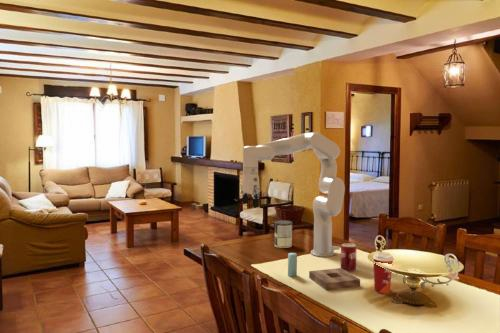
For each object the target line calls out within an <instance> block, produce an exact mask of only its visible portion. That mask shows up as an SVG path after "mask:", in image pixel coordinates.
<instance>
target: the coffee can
mask: <svg viewBox="0 0 500 333" xmlns="http://www.w3.org/2000/svg"><path fill="white" fill-rule="evenodd" d="M292 246H293V221H291V220H287V219H286V220H283V219H282V220H281V219H280V220H275V221H274V247H276V248H278V249H279V248H280V249H285V248H286V249H287V248H292Z"/></svg>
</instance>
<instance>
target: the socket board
mask: <svg viewBox="0 0 500 333" xmlns="http://www.w3.org/2000/svg"><path fill="white" fill-rule="evenodd" d="M308 272H309V273H308V278H309V279H310V280H312V281H313V282H314V283H315V284H317V285H318V286H320V287H321V288H322V289H324V290H325V291H331V290H341V289H348V288H355V287H356V288H358V287H361V279H360V278H358V277H357V276H355V275H353V274H352V273H351V272H347V271H345V270H343V269H342V268H341V267H339V268H329V269H318V270H309V271H308Z"/></svg>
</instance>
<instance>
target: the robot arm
mask: <svg viewBox="0 0 500 333" xmlns="http://www.w3.org/2000/svg"><path fill="white" fill-rule="evenodd" d="M309 149H311V150H313V152H314V155H315V157H317V159H318V160H319V163H320V174H319V180H318V184H317V186H318V187H317V188H318V190H319V191H320V193H323V194H326V195H318V196H316V197H314V199H313V202H312V211H313V218H314V219H313V249H311V251H310V254H311V255H313V256H316V257H321V258H323V257H325V258H327V257H332V256H335V250H336V251H339V250H341V246H338V245H337V246H336V245H332V243H333V242H332V241H333V239H332V237H333V236H332V235H333V220H332V217H336V216H338V215H339V214H340V213H341V212H342V208H343V203H344V199H345V198H344V196H345V192H346V187H345V186H346V185H345V183H344V181H343V179H342V178H339V177H337V171H338V164H337V160H336V159H337V158H338V157H339V156H340V155H341V148H340V147H339V144H337V143H336V142H334V141H332V139H329V138H328V137H326V136H325V135H323V134H322V133H320V132H316V131H315V132H314V131H313V132H304V133H300V134H297V135H293V136H288V137H286V138H281V139H278V140H274V141H269V142H265V143H261V144H258V145H245V146H243V147H242V184H241V187H240V190H241V192H240V193H241V197H242V201H241V203H242V205H248V204H249V195H251V197H252V198H251V207H252V208H257V207H259V199H260V193H261V190H260V188H261V187H260V177H259V161H266V162H268V161H271V160H273V158H274V157H275V156H286V155H292V154H295V153H299V152H301V151H306V150H309Z"/></svg>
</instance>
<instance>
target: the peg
mask: <svg viewBox="0 0 500 333" xmlns="http://www.w3.org/2000/svg"><path fill="white" fill-rule="evenodd" d="M297 269H298V254H297V253H296V252H289V253H288V254H287V277H290V278H296V277H297V274H298V270H297Z"/></svg>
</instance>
